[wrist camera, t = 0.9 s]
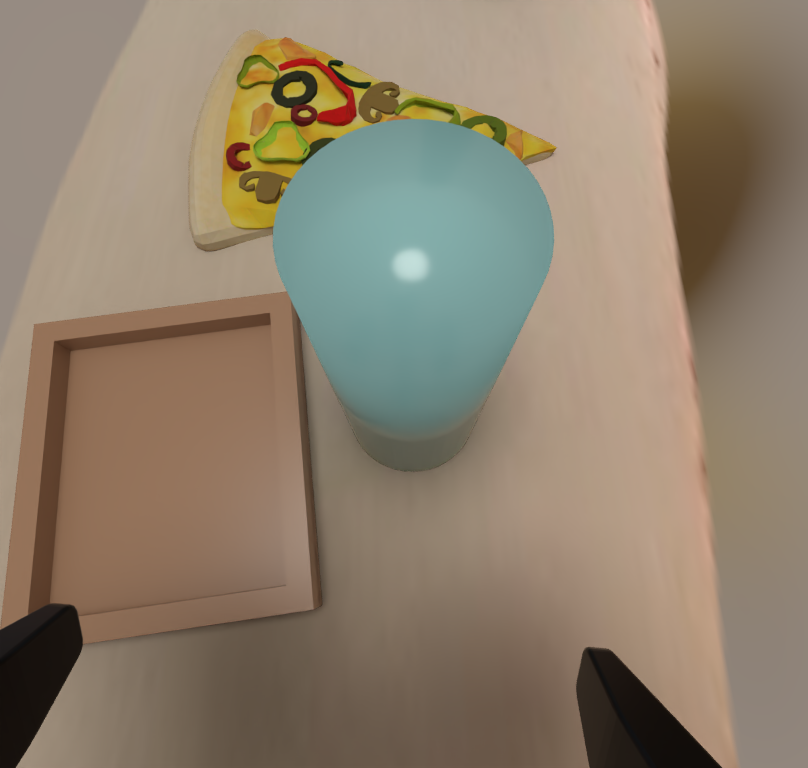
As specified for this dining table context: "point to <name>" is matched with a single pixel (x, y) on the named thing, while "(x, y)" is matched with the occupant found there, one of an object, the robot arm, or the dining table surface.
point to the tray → (166, 470)
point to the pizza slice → (295, 130)
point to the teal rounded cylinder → (413, 277)
